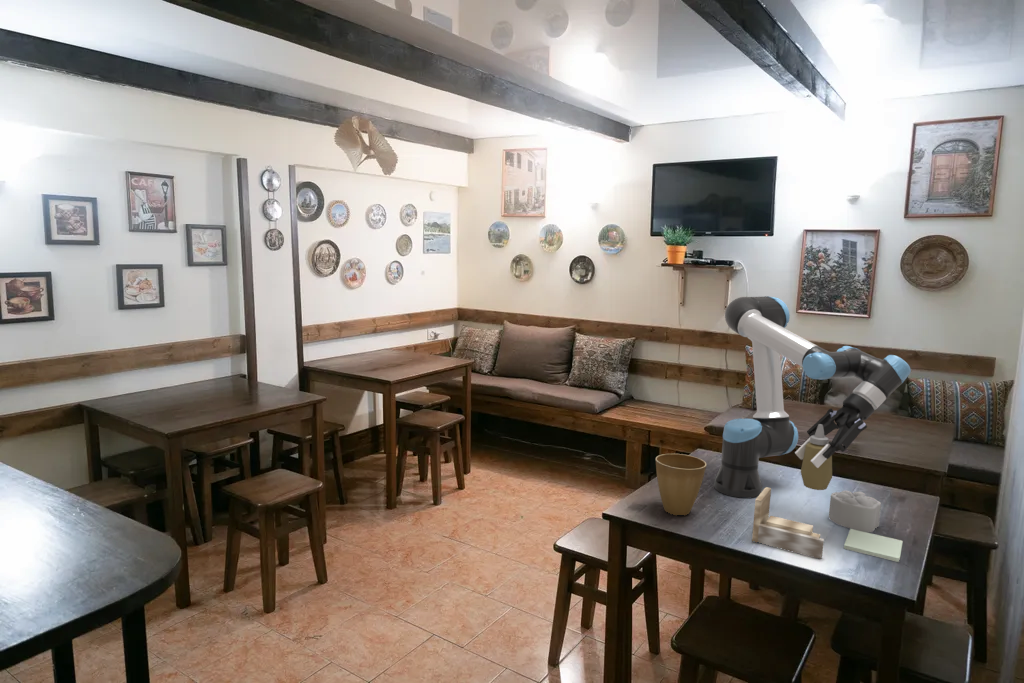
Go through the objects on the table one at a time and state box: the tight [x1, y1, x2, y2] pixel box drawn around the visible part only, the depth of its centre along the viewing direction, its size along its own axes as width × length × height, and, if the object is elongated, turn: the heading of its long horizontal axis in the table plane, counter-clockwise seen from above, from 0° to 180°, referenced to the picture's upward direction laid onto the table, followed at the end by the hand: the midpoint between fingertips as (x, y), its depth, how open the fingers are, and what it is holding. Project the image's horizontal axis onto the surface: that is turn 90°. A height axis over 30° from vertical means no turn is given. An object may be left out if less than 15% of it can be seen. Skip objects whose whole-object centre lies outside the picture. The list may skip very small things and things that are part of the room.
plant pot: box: [655, 453, 707, 516], centre depth 199 cm, size 15×15×16 cm
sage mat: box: [843, 528, 904, 563], centre depth 179 cm, size 13×13×1 cm
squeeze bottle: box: [800, 424, 833, 491], centre depth 183 cm, size 8×8×18 cm
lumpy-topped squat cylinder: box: [828, 490, 882, 533], centre depth 195 cm, size 10×13×9 cm
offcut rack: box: [751, 487, 825, 560], centre depth 180 cm, size 18×12×12 cm
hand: (806, 460), depth 182 cm, fingers closed on squeeze bottle, 6 cm apart
